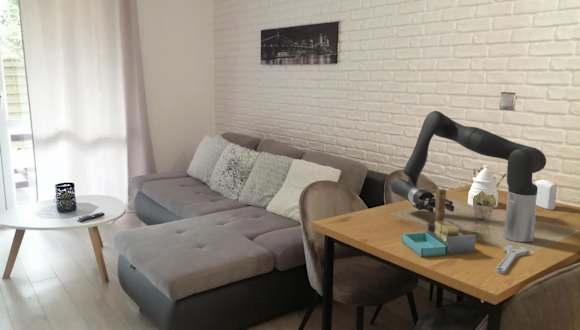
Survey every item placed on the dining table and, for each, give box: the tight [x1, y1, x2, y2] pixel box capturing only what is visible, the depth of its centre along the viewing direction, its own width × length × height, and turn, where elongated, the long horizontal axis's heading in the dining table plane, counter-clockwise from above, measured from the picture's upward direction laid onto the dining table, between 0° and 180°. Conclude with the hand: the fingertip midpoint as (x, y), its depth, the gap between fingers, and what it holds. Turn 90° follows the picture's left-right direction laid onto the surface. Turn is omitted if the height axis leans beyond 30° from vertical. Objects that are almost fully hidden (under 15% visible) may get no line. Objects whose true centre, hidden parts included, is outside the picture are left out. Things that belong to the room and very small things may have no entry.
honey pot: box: [467, 164, 499, 208], centre depth 205 cm, size 13×13×18 cm
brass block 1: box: [434, 219, 452, 236], centre depth 155 cm, size 4×4×4 cm
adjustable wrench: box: [494, 245, 528, 275], centre depth 143 cm, size 25×6×2 cm, turn 137°
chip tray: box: [401, 231, 447, 258], centre depth 152 cm, size 9×14×3 cm, turn 12°
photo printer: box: [534, 179, 558, 211], centre depth 201 cm, size 10×4×12 cm, turn 13°
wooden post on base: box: [433, 188, 447, 224], centre depth 165 cm, size 3×9×17 cm, turn 12°
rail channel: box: [425, 222, 476, 256], centre depth 153 cm, size 10×14×6 cm
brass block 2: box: [441, 224, 460, 239], centre depth 150 cm, size 4×4×4 cm
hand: (442, 209), depth 163 cm, fingers open, 7 cm apart
